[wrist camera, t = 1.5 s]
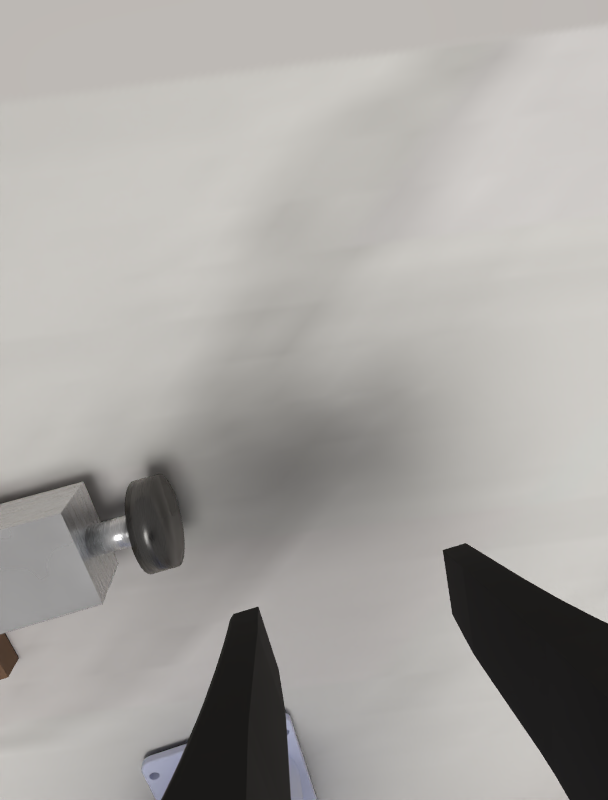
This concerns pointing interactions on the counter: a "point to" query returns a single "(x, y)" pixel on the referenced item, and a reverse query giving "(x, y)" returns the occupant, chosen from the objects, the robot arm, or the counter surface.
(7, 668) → the housing
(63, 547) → the door stop
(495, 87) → the counter surface
